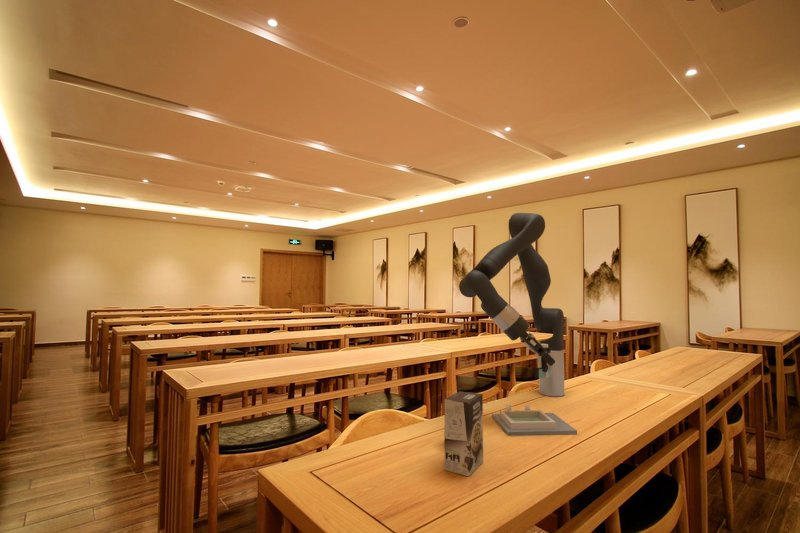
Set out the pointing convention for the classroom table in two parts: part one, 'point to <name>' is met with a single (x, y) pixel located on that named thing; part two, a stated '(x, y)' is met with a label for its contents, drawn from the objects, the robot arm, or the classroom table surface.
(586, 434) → the classroom table surface
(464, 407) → the coffee box
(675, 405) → the classroom table surface
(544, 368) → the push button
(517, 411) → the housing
